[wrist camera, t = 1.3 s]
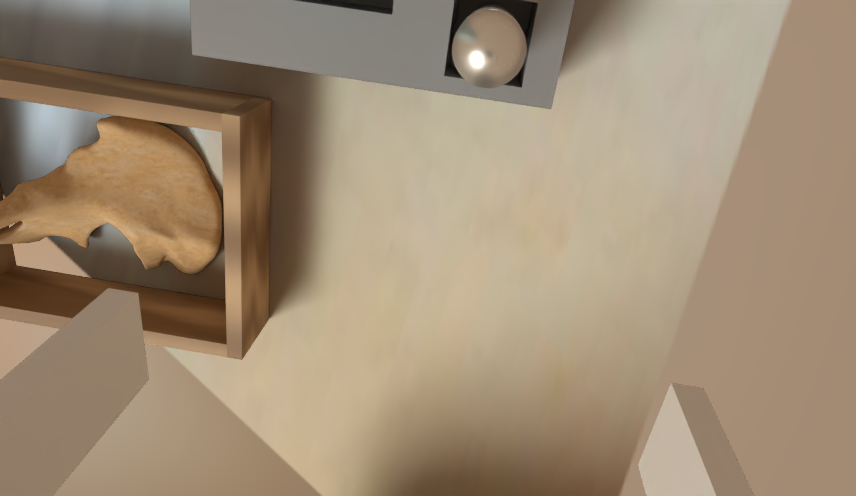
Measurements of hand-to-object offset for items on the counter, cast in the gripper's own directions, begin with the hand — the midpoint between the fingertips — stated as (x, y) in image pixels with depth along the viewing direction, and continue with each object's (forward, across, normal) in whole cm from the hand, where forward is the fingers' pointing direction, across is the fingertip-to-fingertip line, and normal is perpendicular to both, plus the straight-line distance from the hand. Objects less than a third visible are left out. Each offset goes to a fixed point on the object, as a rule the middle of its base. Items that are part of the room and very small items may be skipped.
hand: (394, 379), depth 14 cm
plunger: (+19, -1, -6) cm, 20 cm away
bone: (+24, +22, +8) cm, 33 cm away
